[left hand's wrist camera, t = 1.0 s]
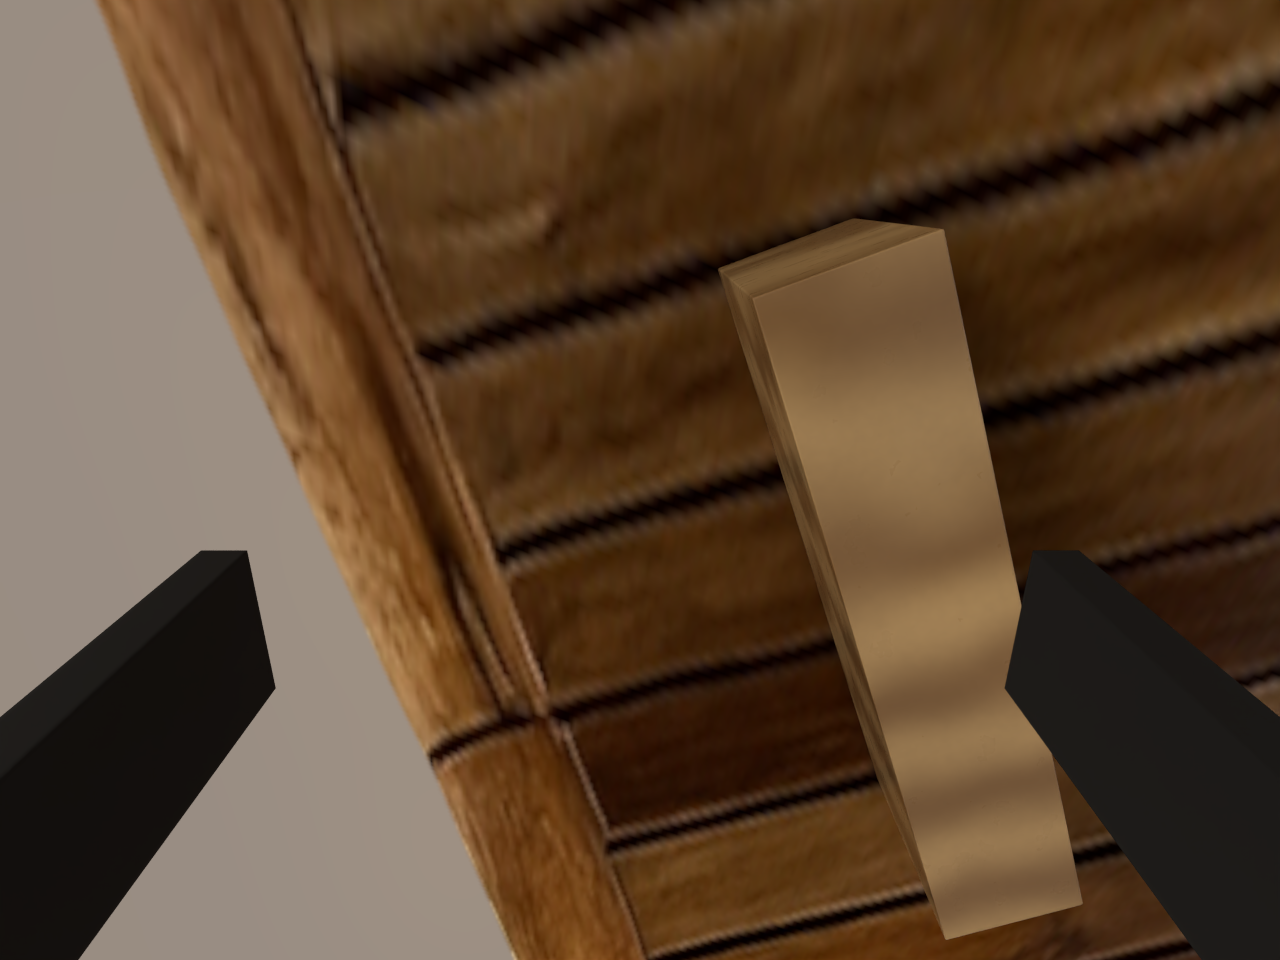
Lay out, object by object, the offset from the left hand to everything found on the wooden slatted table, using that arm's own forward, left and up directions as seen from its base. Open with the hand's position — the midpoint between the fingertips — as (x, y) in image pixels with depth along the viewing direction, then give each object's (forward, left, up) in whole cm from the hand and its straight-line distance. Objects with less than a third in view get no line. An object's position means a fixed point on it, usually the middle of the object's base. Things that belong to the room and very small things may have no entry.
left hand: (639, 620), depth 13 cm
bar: (-7, +10, -18) cm, 21 cm away
